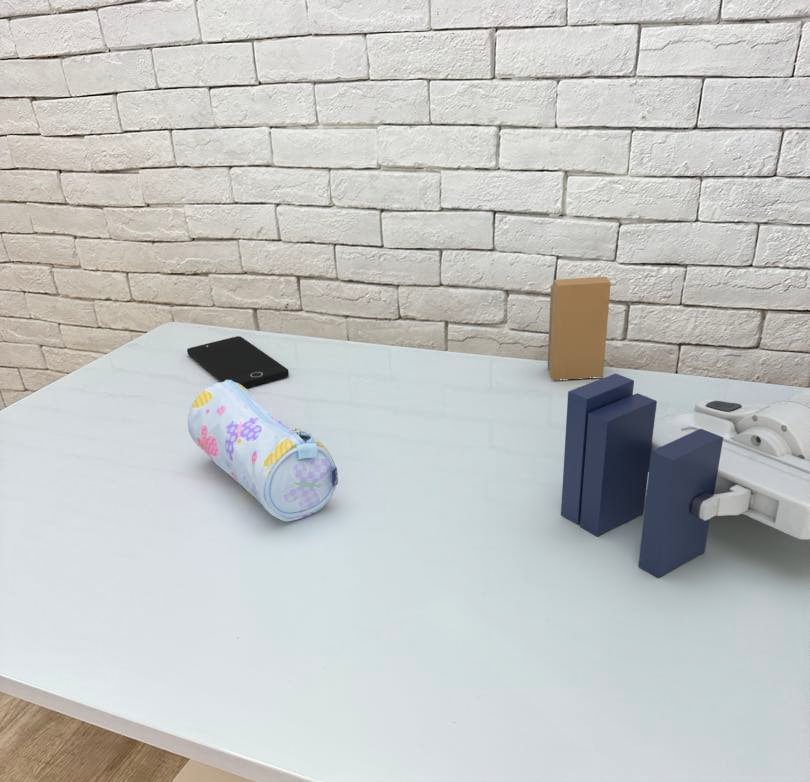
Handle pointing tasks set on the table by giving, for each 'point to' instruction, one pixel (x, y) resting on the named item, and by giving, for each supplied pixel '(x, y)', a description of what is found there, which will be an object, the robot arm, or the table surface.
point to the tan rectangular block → (578, 327)
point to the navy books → (606, 454)
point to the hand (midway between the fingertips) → (678, 501)
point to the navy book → (678, 501)
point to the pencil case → (262, 451)
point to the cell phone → (237, 362)
